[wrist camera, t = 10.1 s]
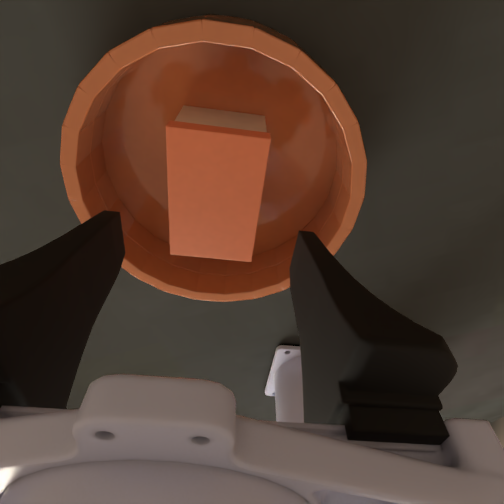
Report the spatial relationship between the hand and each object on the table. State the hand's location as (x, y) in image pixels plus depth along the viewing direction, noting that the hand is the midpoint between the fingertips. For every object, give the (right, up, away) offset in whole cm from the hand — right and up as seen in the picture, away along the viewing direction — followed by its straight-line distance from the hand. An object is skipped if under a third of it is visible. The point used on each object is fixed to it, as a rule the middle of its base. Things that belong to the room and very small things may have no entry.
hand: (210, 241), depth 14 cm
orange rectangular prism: (0, +4, +5) cm, 7 cm away
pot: (0, +5, +6) cm, 7 cm away
